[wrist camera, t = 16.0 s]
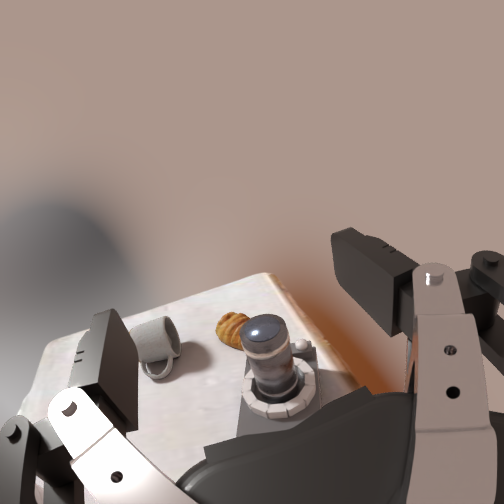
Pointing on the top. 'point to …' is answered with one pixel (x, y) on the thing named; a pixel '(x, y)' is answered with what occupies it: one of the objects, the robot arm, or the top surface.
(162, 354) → the ceramic mug
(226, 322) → the pastry
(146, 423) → the top surface
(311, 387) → the grey socket block
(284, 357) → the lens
